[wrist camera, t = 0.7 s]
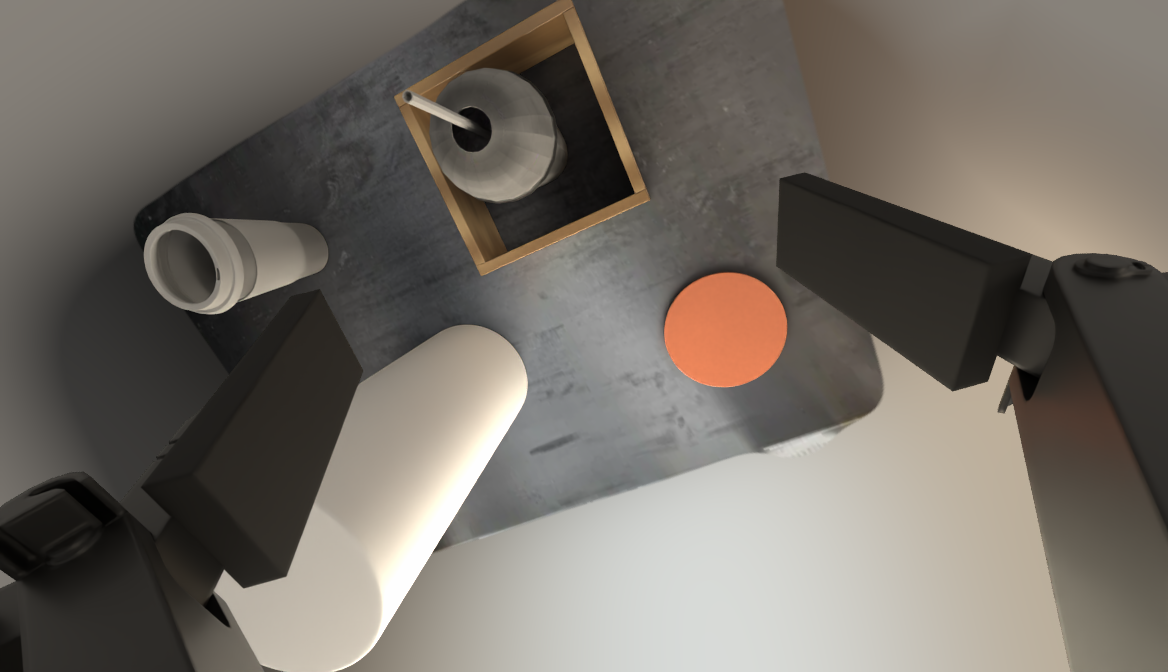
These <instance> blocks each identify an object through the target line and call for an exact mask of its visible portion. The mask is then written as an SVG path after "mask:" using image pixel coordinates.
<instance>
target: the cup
mask: <svg viewBox="0 0 1168 672" xmlns="http://www.w3.org/2000/svg"><path fill="white" fill-rule="evenodd" d="M327 260H328V246H327V243H326V241H325V239H324V237H323V236H322V234H321V233H320V232H319V231H318V230H317V229H315V228H314V227H312V226H310V225H308V224H304V223H280V222H277V221H267V220H240V219H213V218H211V219H209V218H207V217H205V216H203V215H200V214H196V213H183V214H179V215H176V216H174V217H171V218H170V219H168V220H167V221H166V222H165V223H163V224H162V225H160V226H158V227H156V228H155V229H154V230H153V231H152V232H151V233H150V235H149V236H148V238H147V241H146V243H145V248H144V262H145V266H146V270H147V273H148V275H149V278H150V280H151V282H152V283H153V285H154V287H155V288H156V289H157V291H158V292H159V293H160V294H161V295H162V296H163V297H164V298H165V299H166V300H168V301H169V302H170V303H172V304H173V305H175V306H177V307H180V308H182V309H186V310H191V311H194V312H198V313H201V314H219V313H222V312H225V311H227V310H228V309H230V308H231V307H232V306H234V304H235V303H236V302H240V301H243V300H245V299H248V298H251V297H254V296H257V295H260V294H262V293H265V292H268V291H271V290H274V289H277V288H279V287H282V286H285V285H288V284H290V283H293V282H294V281H296V280H297V279H300V278H303V277H306V276H309V275H312V274H315V273H317V272H319V271H321V270H322V269H323V268H324V267H325V265H326V263H327Z"/></svg>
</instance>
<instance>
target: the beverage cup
mask: <svg viewBox="0 0 1168 672" xmlns="http://www.w3.org/2000/svg"><path fill="white" fill-rule="evenodd" d="M402 98H403V100H404V102H406V103H408V104H411V105H413V106H415V107H417V108H420V109H422V110H424V111H426V112H428V113H431V116H430V130H429V135H430V140H431V145H432V150H433V154H434V156H435V157H436V159H437V161H438V163H439V165H440V167H441V169H442V171H443V173H444V174H445V175H446V176H447V177H448V178H449V179H450V180H451V181H452V182H453V183H454V184H455V185H456V186H457V187H458V188H460V189H462V190H463V191H464V192H466V193H468V194H470V195H471V196H473V197H475V198H477V199H478V200H481V201H486V202H491V203H496V204H501V203H508V202H515V201H518V200H520V199H522V198H524V197H525V196H527V195H529V194H531V193H533V192H534V191H535V190H536V189H537V188H538V187H540V186H543V185H546V184H548V183H550V182H552V181H554V180H555V179H557V178H558V177H559V176H560V175H561V173H562V172H563V170H564V168H565V166H566V164H567V158H568V152H567V145H566V142H565V140H564V138H563V136H562V134H561V132H560V130H559V129H558V127H557V126H556V121H555V116H554V114H553V112H552V110H551V108H550V105H549V103H548V101H547V99H546V97H545V96H544V95H543V94H542V93H541V92H540V91H539V89H538V88H537V87H536V86H535V85H534V84H533V83H532V82H531V81H529V80H527V79H526V78H524V77H522V76H520V75H519V74H517V73H515V72H512V71H506V70H500V69H495V68H493V69H491V68H482V69H477V70H472V71H467V72H465V73H464V74H462V75H460V76H459V77H457V78H455V79H454V80H452V81H451V82H449V83H448V84H447V86H446V87H445V88H444V89H443V91H442V92H441V93H440V94H439V96H438V97H437V99H436V102H433V101H431V100H429V99H427V98H425V97H423V96H420V95H418V94H416V93H414V92H412V91H410V90H405V91H404V92H403V95H402Z"/></svg>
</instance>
